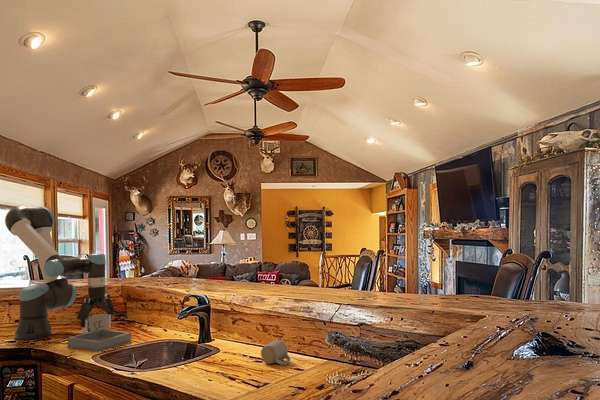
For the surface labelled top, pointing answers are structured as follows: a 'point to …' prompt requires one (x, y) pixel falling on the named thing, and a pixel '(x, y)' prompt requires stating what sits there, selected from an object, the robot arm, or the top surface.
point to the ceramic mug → (275, 353)
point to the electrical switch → (96, 322)
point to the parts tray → (99, 340)
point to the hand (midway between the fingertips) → (96, 331)
